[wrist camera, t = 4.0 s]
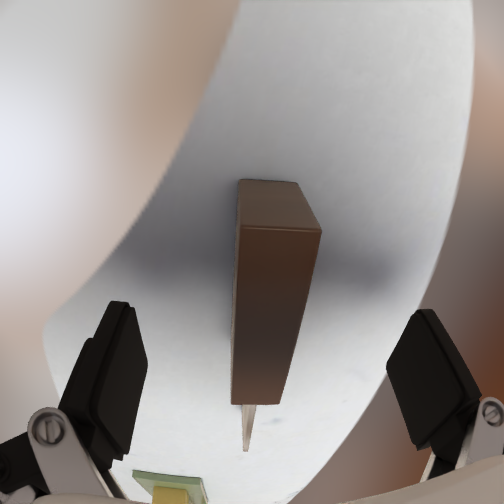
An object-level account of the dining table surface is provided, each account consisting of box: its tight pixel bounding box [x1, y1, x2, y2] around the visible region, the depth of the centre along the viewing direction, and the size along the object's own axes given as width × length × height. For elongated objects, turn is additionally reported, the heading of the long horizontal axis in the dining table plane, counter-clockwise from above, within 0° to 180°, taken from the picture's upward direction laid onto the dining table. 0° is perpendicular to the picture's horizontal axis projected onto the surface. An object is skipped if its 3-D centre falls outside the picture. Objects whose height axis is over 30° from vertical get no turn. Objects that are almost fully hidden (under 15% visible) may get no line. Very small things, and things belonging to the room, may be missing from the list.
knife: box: [231, 179, 322, 452], centre depth 13 cm, size 15×2×4 cm, turn 176°
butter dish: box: [132, 470, 208, 504], centre depth 29 cm, size 8×16×4 cm, turn 176°
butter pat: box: [152, 486, 187, 504], centre depth 27 cm, size 4×2×3 cm, turn 86°
